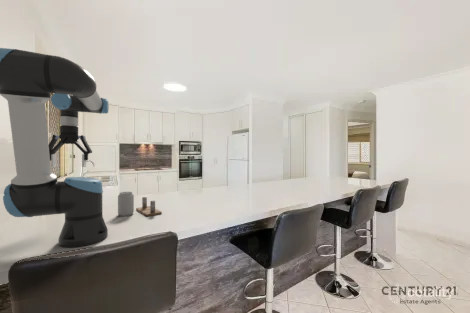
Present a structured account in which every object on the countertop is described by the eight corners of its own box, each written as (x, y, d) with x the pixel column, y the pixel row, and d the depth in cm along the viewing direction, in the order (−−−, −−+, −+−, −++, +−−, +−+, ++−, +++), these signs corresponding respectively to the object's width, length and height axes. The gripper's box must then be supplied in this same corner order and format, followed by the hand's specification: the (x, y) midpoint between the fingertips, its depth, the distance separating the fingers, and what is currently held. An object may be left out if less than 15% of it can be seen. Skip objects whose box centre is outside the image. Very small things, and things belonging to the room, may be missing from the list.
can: (114, 215, 113) (114, 192, 113) (127, 212, 120) (127, 190, 120) (123, 217, 110) (123, 194, 110) (136, 213, 116) (136, 191, 116)
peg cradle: (161, 214, 116) (161, 200, 116) (146, 216, 111) (146, 202, 111) (150, 208, 129) (150, 196, 129) (136, 210, 124) (136, 197, 124)
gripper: (99, 127, 117) (99, 166, 117) (45, 126, 112) (45, 166, 112) (93, 125, 110) (93, 167, 110) (35, 123, 105) (35, 167, 104)
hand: (69, 167), depth 111 cm, fingers open, 13 cm apart
